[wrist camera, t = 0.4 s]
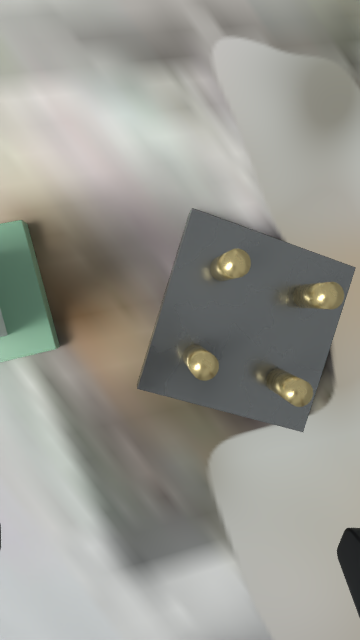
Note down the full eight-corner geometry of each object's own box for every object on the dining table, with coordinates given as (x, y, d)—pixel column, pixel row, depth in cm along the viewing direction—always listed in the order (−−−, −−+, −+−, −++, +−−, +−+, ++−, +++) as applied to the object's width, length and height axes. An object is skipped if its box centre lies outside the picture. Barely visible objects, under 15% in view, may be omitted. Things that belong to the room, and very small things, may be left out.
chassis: (294, 425, 23) (329, 453, 19) (137, 383, 21) (137, 404, 17) (344, 269, 23) (391, 262, 18) (189, 213, 21) (202, 191, 17)
